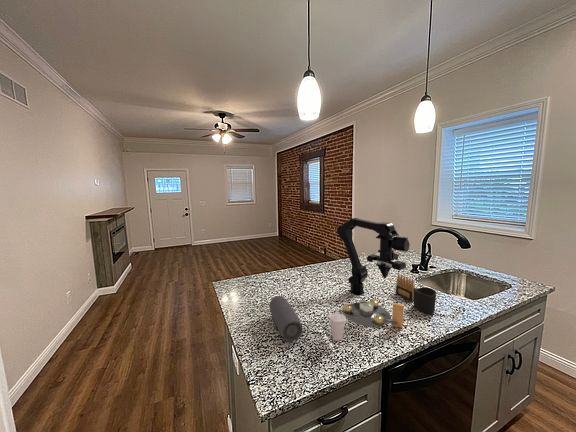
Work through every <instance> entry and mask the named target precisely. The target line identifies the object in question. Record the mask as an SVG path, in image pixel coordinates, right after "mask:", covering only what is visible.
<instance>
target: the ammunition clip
mask: <svg viewBox="0 0 576 432" xmlns="http://www.w3.org/2000/svg"><path fill="white" fill-rule="evenodd" d="M414 288H415V280H414V279H413V278H411V277H408V276H405V275H404V274H400V272H398V273H397V278H396V285H395V294H396V295H397V296H399V297H402V298H403V299H406V300H407V301H409V302H414Z"/></svg>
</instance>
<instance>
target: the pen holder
mask: <svg viewBox="0 0 576 432" xmlns="http://www.w3.org/2000/svg"><path fill="white" fill-rule="evenodd" d="M436 298H437V291H436V290H435V289H433V288H429V287H428V286H426V287H425V286H423V287H419V288H416V287H414V301H413V308H414V309H415V310H416V311H418V312H421V313H422V314H424V315H426V316H428V315H430V316H431V315H433V314H434V313H435V310H436V309H435V307H436V302H437V301H436Z"/></svg>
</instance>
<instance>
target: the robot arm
mask: <svg viewBox="0 0 576 432" xmlns="http://www.w3.org/2000/svg"><path fill="white" fill-rule="evenodd" d="M356 227H359V228H362V229H367V230H370V231H371V230H372V231H373V232H375V233H377V234H378V235H376V236H375V238H376V239H378V240H379V249H378V250H377V253H379V255H378V254H375V253H374V254H369V255H367V256H366V261H367V262H369V263H372V262H374V261H375V262H376V263H375V266H377V268H378V270H379V271H380V273H381V275H382V278H383V279H387V277H388V275H389V273H390V271H391V269H393V270H398V271H401V270H404V269H406V267H407V264H406V262H405V261H401V260H399V256H400V254H398V253H395V251H399V252H404V253H407V252H408V251H410V250H409V249H410V242H409V238H408V237H406V236H400V235H399V233H398V232H397V230H396V229H395V226H394V224H393V223H391V222H375V221H370V220H366V219H361V218H359V217H352V218H350V219H349V220H347V221H346V222H343V224H341V225H339V226H337V228H336V234H337V235H338V237H339V238H340V239H341V240H342V242H343V243H344V247H345V249H346V252H347V256H348V259H349V261H350V264H351V276H350V277H349V278H348V279H347V281H348V283H349V284H350V287H349V288H350V290H348V293H349V294H353V295H355V296H360V295H363V294H365V291H364V282H365V280H366V279H367V278H368V277H369V271H368V269H367V265H364V264H362V263H361V260H360V257H359V255H358V252H357V249H356V246H355V244H354V240H353V230H354V229H355V228H356Z"/></svg>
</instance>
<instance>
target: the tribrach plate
mask: <svg viewBox="0 0 576 432" xmlns="http://www.w3.org/2000/svg"><path fill="white" fill-rule="evenodd" d="M342 314H343V315H344V316H345V317H346V319H348V320H349V321H351V322H353V323H355V324H357V325H360V326H365V327H381V326H382V327H383V326H385V325H386V324H388V323H387V322H383V325H376V324H374V322H373V317H374V315H381V316H382V317H383V318H388V319H392V316H391V313H390V311H387V309H385V308H384V307H382V306H379V301H378V300H376V299H370V300H369V301H366V300H363V301H360V302H352V303H349V304H348V303H345V304H343V305H342Z"/></svg>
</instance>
